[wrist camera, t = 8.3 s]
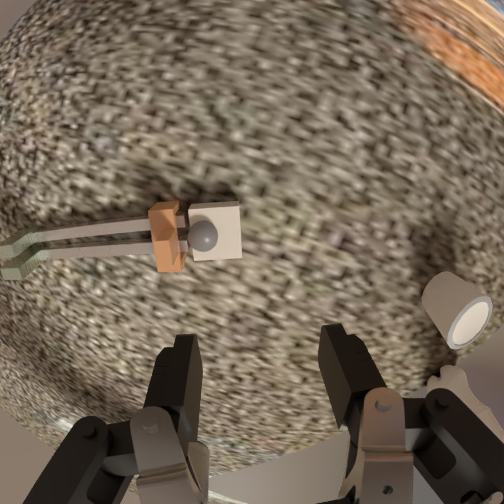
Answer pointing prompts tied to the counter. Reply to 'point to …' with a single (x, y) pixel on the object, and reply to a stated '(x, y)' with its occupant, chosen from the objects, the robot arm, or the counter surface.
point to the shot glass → (456, 309)
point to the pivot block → (215, 230)
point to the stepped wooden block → (166, 236)
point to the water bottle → (464, 395)
